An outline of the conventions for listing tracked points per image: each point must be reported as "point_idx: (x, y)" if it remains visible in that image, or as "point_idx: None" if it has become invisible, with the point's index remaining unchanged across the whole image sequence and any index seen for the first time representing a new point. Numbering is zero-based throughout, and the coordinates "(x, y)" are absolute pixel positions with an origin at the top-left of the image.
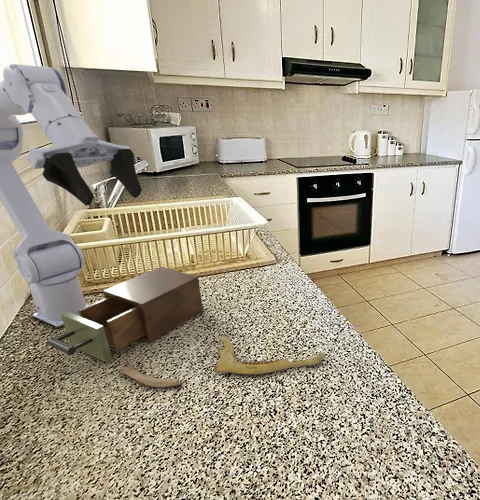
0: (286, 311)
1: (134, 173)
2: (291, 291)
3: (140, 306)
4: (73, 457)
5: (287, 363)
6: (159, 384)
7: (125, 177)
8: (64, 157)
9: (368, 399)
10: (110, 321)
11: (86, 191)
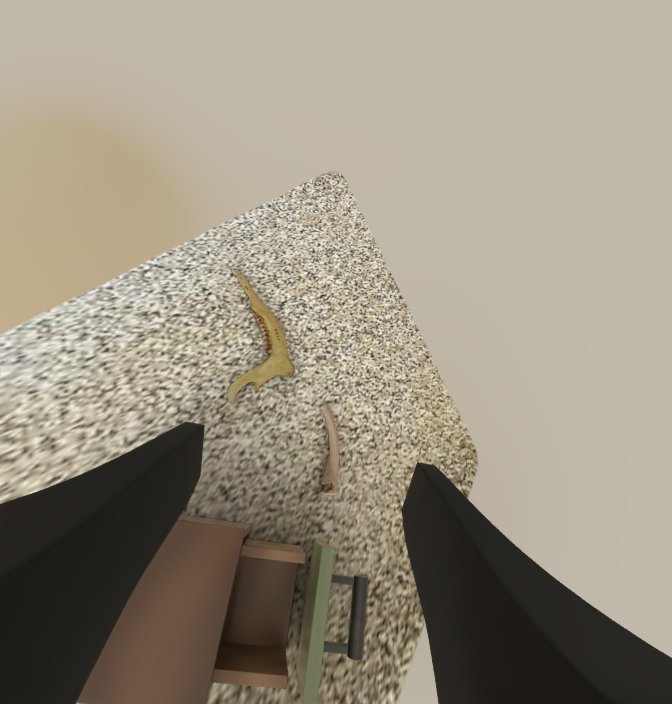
0: (108, 352)
1: (114, 466)
2: (13, 372)
3: (244, 535)
4: (435, 436)
5: (257, 301)
6: (334, 424)
7: (133, 540)
8: (645, 676)
9: (282, 229)
10: (302, 553)
11: (446, 480)
